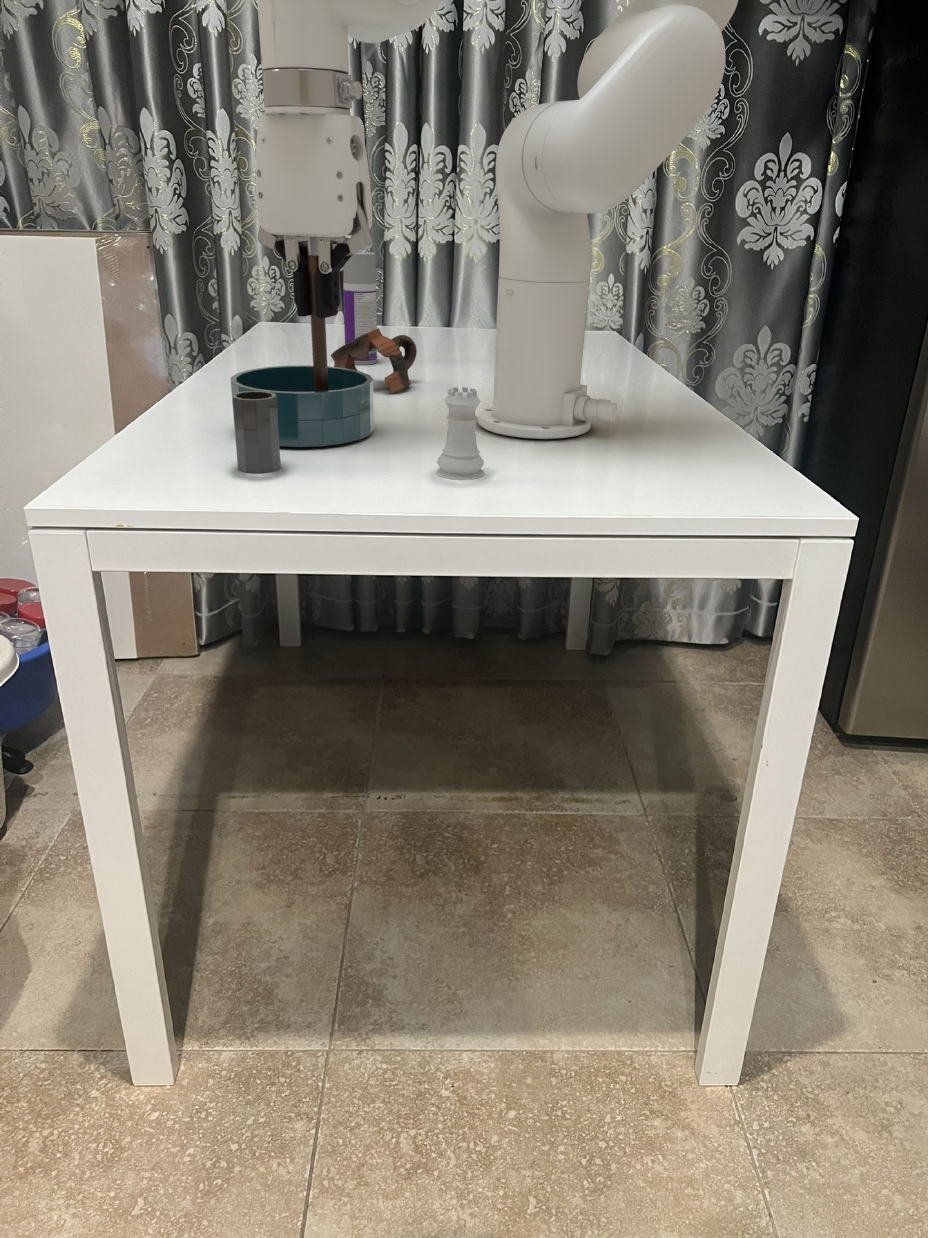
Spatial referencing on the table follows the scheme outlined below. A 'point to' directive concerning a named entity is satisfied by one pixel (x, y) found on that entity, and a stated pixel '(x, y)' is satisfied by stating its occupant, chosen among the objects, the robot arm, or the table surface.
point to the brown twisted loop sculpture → (384, 346)
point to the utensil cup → (256, 431)
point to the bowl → (314, 403)
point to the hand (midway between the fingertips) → (317, 314)
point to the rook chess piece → (461, 437)
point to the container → (360, 300)
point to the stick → (317, 331)
